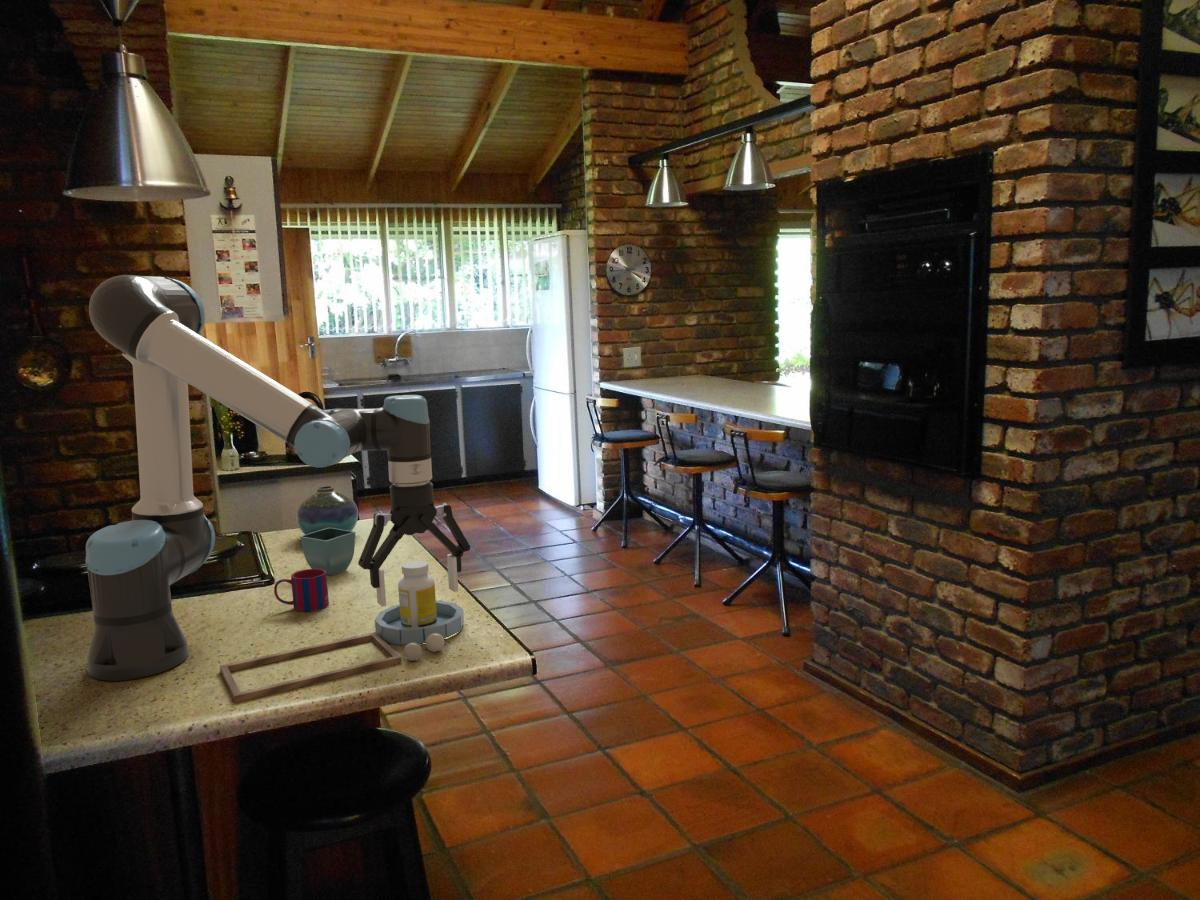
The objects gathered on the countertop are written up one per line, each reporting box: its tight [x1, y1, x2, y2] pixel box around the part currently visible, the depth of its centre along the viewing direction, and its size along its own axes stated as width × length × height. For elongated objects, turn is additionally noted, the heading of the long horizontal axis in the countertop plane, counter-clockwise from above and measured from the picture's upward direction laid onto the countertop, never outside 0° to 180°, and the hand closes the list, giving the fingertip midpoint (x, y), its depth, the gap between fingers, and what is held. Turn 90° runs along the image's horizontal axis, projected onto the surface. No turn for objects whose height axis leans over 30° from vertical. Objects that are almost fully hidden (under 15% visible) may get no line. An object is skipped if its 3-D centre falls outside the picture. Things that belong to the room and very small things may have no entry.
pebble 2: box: [425, 633, 446, 653], centre depth 151 cm, size 3×3×3 cm
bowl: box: [374, 599, 465, 646], centre depth 162 cm, size 15×15×3 cm
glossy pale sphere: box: [403, 642, 423, 662], centre depth 148 cm, size 3×3×3 cm
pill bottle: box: [397, 560, 437, 628], centre depth 161 cm, size 6×6×12 cm
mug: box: [273, 568, 330, 613], centre depth 176 cm, size 7×10×7 cm
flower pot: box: [299, 528, 356, 577], centre depth 199 cm, size 9×9×9 cm
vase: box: [296, 485, 359, 535], centre depth 230 cm, size 15×15×13 cm
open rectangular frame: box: [219, 631, 403, 703], centre depth 146 cm, size 26×14×1 cm, turn 121°
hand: (418, 597), depth 161 cm, fingers open, 13 cm apart
